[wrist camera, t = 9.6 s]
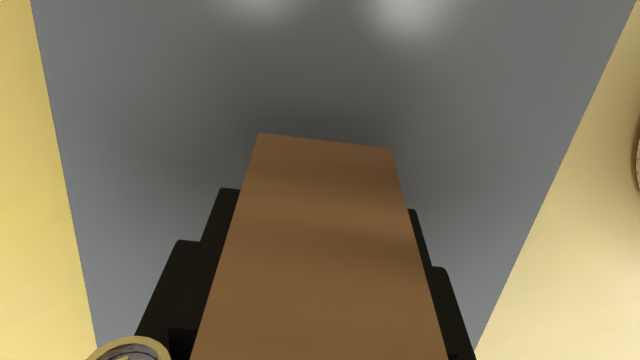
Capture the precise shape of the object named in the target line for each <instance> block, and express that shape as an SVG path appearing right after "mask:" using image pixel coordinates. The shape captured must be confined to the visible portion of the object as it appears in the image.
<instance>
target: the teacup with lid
mask: <svg viewBox="0 0 640 360" xmlns="http://www.w3.org/2000/svg"><path fill="white" fill-rule="evenodd" d="M636 171H637V179H638V184H639V188H640V139H639V144H638V149H637V159H636Z"/></svg>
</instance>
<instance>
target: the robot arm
mask: <svg viewBox="0 0 640 360" xmlns="http://www.w3.org/2000/svg"><path fill="white" fill-rule="evenodd" d="M240 191H241V190H240V189H231V188H222V187H221V188H220V189H219V192H218V194H217V197H216V200H215V202H214V205H213V208H212V210H211V213H210V216H209V218H208V221H207V224H206V226H205V229H204V232H203V234H202V237H201V240H200V242H199V241H189V240H180V239H179V240H178V241H177V242H176V243H175V245H174V247H173V249H172V252H171V254H170V256H169V258H168V260H167V263H166V265H165V267H164V269H163V272H162V274H161V276H160V278H159V281H158V283H157V285H156V287H155V290H154V292H153V294H152V296H151V298H150V301H149V303H148V305H147V307H146V310H145V312H144V314H143V316H142V319H141V321H140V323H139V325H138V328H137V330H136V332H135V334H134V336H130V337H122V338H119V339H116V340H113V341H110V342H108V343H106V344H105V345H103V346H102V347H100V348H98V349H97V350H95V351H94V352H93V353H92V354H91V355H90V356H89V357H88V358H87V359H86V360H190V356H191V353H192V350H193V346H194V343H195V340H196V336H197V333H198V330H199V327H200V323H201V320H202V317H203V313H204V310H205V307H206V303H207V300H208V297H209V294H210V290H211V287H212V284H213V280H214V277H215V274H216V270H217V267H218V264H219V261H220V257H221V254H222V251H223V247H224V244H225V241H226V237H227V234H228V231H229V227H230V224H231V221H232V218H233V214H234V211H235V208H236V204H237V201H238V198H239V194H240ZM407 210H408V213H409V217H410V221H411V224H412V228H413V232H414V235H415V239H416V243H417V246H418V250H419V254H420V257H421V261H422V265H423V268H424V272H425V276H426V279H427V283H428V287H429V290H430V294H431V298H432V301H433V305H434V309H435V312H436V316H437V320H438V323H439V327H440V331H441V334H442V338H443V342H444V345H445V349H446V353H447V356H448V360H476V357H475V354H474V351H473V348H472V345H471V342H470V339H469V336H468V333H467V330H466V327H465V324H464V321H463V318H462V315H461V312H460V309H459V306H458V303H457V300H456V297H455V294H454V291H453V288H452V285H451V282H450V279H449V276H448V273H447V271H446V269H445V268H443V267H437V266H432V263H431V260H430V256H429V253H428V249H427V246H426V243H425V239H424V236H423V233H422V229H421V226H420V222H419V219H418V216H417V212H416V210H415V209H409V208H407Z"/></svg>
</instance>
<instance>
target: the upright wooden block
mask: <svg viewBox="0 0 640 360" xmlns="http://www.w3.org/2000/svg"><path fill="white" fill-rule="evenodd" d="M190 360H448V356H447V353H446V349H445V345H444V342H443V338H442V334H441V331H440V327H439V323H438V320H437V316H436V312H435V309H434V305H433V301H432V298H431V294H430V290H429V287H428V283H427V279H426V276H425V272H424V268H423V265H422V261H421V257H420V254H419V250H418V246H417V243H416V239H415V235H414V232H413V228H412V224H411V221H410V217H409V213H408V210H407V206H406V202H405V199H404V195H403V191H402V188H401V184H400V180H399V177H398V173H397V169H396V166H395V162H394V158H393V155H392V151H391V148H383V147H375V146H367V145H358V144H350V143H342V142H333V141H325V140H317V139H309V138H300V137H292V136H284V135H275V134H267V133H259V132H258V135H257V138H256V142H255V145H254V148H253V152H252V155H251V158H250V161H249V165H248V168H247V171H246V175H245V178H244V181H243V185H242V188H241V191H240V194H239V198H238V201H237V204H236V208H235V211H234V214H233V218H232V221H231V224H230V227H229V231H228V234H227V237H226V241H225V244H224V247H223V251H222V254H221V257H220V261H219V264H218V267H217V270H216V274H215V277H214V280H213V284H212V287H211V290H210V294H209V297H208V300H207V303H206V307H205V310H204V313H203V317H202V320H201V323H200V327H199V330H198V333H197V336H196V340H195V343H194V346H193V350H192V353H191V356H190Z"/></svg>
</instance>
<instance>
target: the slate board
mask: <svg viewBox="0 0 640 360" xmlns="http://www.w3.org/2000/svg"><path fill="white" fill-rule="evenodd" d="M30 2H31V7H32V12H33V18H34V23H35V28H36V33H37V38H38V43H39V49H40V54H41V59H42V64H43V69H44V75H45V80H46V85H47V90H48V95H49V100H50V106H51V111H52V116H53V121H54V126H55V131H56V137H57V142H58V147H59V152H60V157H61V162H62V168H63V173H64V178H65V183H66V188H67V193H68V199H69V204H70V209H71V214H72V219H73V224H74V230H75V235H76V240H77V245H78V250H79V256H80V261H81V266H82V271H83V276H84V281H85V287H86V292H87V297H88V302H89V307H90V312H91V318H92V323H93V328H94V333H95V338H96V343H97V349H98V348H100V347H102V346H103V345H105V344H106V343H108V342H110V341H113V340H116V339H119V338H122V337H130V336H134V334H135V332H136V330H137V328H138V325H139V323H140V321H141V319H142V316H143V314H144V312H145V310H146V307H147V305H148V303H149V301H150V298H151V296H152V294H153V292H154V290H155V287H156V285H157V283H158V281H159V278H160V276H161V274H162V272H163V269H164V267H165V265H166V263H167V260H168V258H169V256H170V254H171V252H172V249H173V247H174V245H175V243H176V242H177V241H178V240H179V239H180V240H189V241H199V242H200V240H201V237H202V234H203V232H204V229H205V226H206V224H207V221H208V218H209V216H210V213H211V210H212V208H213V205H214V202H215V200H216V197H217V194H218V192H219V189H220V188H221V187H222V188H231V189H240V190H241V188H242V185H243V181H244V178H245V175H246V171H247V168H248V165H249V161H250V158H251V155H252V152H253V148H254V145H255V142H256V138H257V135H258V132H259V133H267V134H275V135H284V136H292V137H300V138H309V139H317V140H325V141H333V142H342V143H350V144H358V145H367V146H375V147H383V148H391V151H392V155H393V158H394V162H395V166H396V169H397V173H398V177H399V180H400V184H401V188H402V191H403V195H404V199H405V202H406V206H407V208H409V209H415V210H416V212H417V216H418V219H419V222H420V226H421V229H422V233H423V236H424V239H425V243H426V246H427V249H428V253H429V256H430V260H431V263H432V266H437V267H443V268H445V269H446V271H447V273H448V276H449V279H450V282H451V285H452V288H453V291H454V294H455V297H456V300H457V303H458V306H459V309H460V312H461V315H462V318H463V321H464V324H465V327H466V330H467V333H468V336H469V339H470V342H471V345H472V348H473V351H474V350H475V348H476V346H477V344H478V342H479V339H480V337H481V335H482V333H483V331H484V329H485V327H486V324H487V322H488V320H489V318H490V316H491V314H492V311H493V309H494V307H495V305H496V303H497V301H498V298H499V296H500V294H501V292H502V290H503V288H504V285H505V283H506V281H507V279H508V277H509V275H510V272H511V270H512V268H513V266H514V264H515V262H516V260H517V257H518V255H519V253H520V251H521V249H522V247H523V244H524V242H525V240H526V238H527V236H528V234H529V231H530V229H531V227H532V225H533V223H534V221H535V218H536V216H537V214H538V212H539V210H540V208H541V205H542V203H543V201H544V199H545V197H546V195H547V192H548V190H549V188H550V186H551V184H552V182H553V180H554V177H555V175H556V173H557V171H558V169H559V167H560V164H561V162H562V160H563V158H564V156H565V154H566V151H567V149H568V147H569V145H570V143H571V141H572V138H573V136H574V134H575V132H576V130H577V128H578V125H579V123H580V121H581V119H582V117H583V115H584V112H585V110H586V108H587V106H588V104H589V102H590V100H591V97H592V95H593V93H594V91H595V89H596V87H597V84H598V82H599V80H600V78H601V76H602V74H603V71H604V69H605V67H606V65H607V63H608V61H609V58H610V56H611V54H612V52H613V50H614V48H615V45H616V43H617V41H618V39H619V37H620V35H621V33H622V30H623V28H624V26H625V24H626V22H627V20H628V17H629V15H630V13H631V11H632V9H633V7H634V4H635V2H636V0H30Z"/></svg>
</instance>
